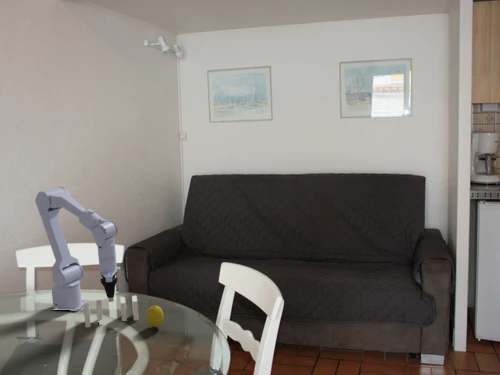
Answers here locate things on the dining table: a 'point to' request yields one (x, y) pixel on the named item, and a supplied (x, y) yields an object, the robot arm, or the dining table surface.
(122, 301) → the domino
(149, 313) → the lemon
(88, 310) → the light grey rectangular block
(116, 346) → the dining table surface
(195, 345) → the dining table surface
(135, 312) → the domino
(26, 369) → the dining table surface
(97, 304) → the domino
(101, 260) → the robot arm
